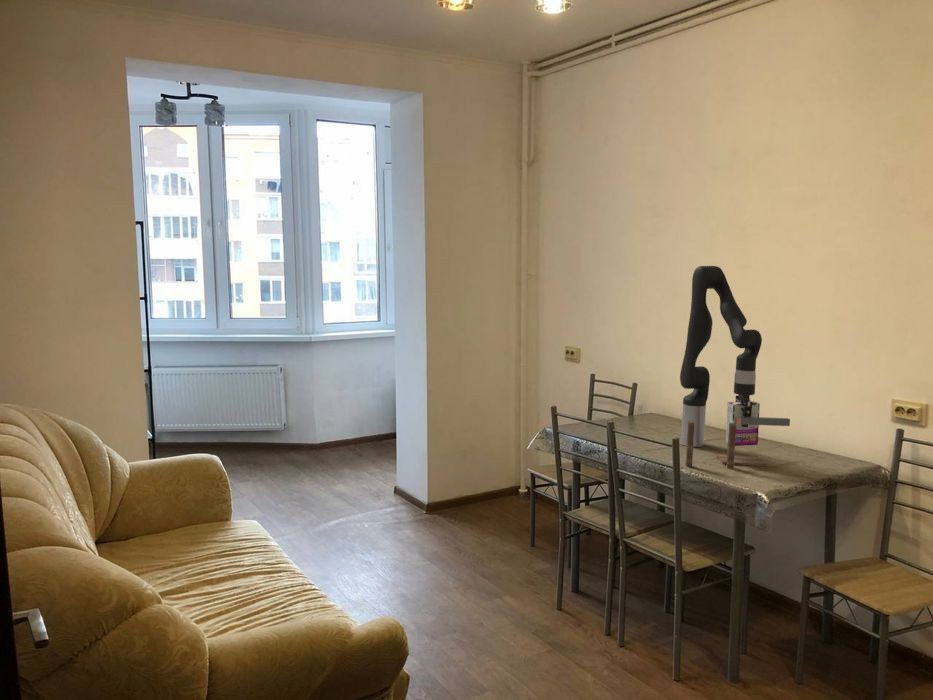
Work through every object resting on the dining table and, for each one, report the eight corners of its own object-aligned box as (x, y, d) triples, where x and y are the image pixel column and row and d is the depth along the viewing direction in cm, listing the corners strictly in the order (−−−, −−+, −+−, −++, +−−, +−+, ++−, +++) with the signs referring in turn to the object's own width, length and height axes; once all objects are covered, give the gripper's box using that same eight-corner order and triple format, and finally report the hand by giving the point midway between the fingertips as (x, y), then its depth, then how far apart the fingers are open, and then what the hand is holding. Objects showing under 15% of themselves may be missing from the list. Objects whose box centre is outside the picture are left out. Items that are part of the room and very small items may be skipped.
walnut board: (715, 456, 282) (715, 453, 281) (756, 458, 280) (756, 455, 280) (722, 464, 270) (723, 462, 270) (766, 466, 268) (766, 463, 268)
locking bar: (734, 423, 265) (735, 416, 264) (787, 425, 263) (788, 418, 263) (736, 424, 263) (736, 417, 262) (789, 426, 261) (790, 419, 260)
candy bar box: (750, 442, 278) (753, 400, 276) (758, 445, 273) (760, 403, 271) (724, 443, 275) (726, 401, 274) (731, 446, 271) (734, 403, 269)
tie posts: (685, 465, 268) (687, 421, 266) (731, 467, 267) (734, 423, 265) (686, 466, 266) (688, 422, 264) (733, 468, 265) (736, 424, 263)
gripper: (760, 385, 264) (758, 429, 266) (749, 379, 278) (746, 421, 280) (740, 384, 265) (737, 428, 266) (729, 378, 279) (727, 420, 281)
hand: (742, 424), depth 273 cm, fingers closed on candy bar box, 6 cm apart
